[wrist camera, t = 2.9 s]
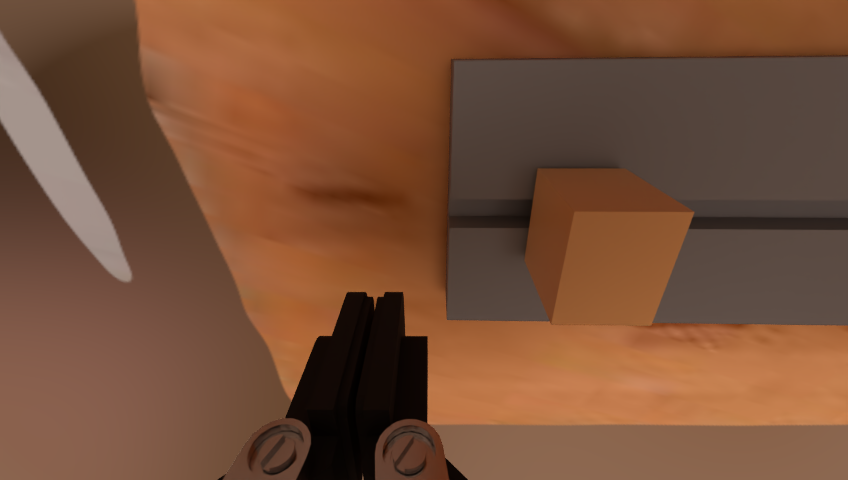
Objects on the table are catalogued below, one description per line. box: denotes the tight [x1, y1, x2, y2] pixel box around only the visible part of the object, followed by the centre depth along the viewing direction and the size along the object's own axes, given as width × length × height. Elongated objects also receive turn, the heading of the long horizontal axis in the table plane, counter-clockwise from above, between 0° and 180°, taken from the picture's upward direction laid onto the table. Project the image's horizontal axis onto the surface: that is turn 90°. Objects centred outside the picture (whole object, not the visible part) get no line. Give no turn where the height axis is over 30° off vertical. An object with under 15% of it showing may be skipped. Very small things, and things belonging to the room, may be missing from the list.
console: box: [446, 55, 848, 325], centre depth 19 cm, size 32×14×3 cm, turn 91°
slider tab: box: [524, 168, 694, 326], centre depth 16 cm, size 4×5×7 cm
